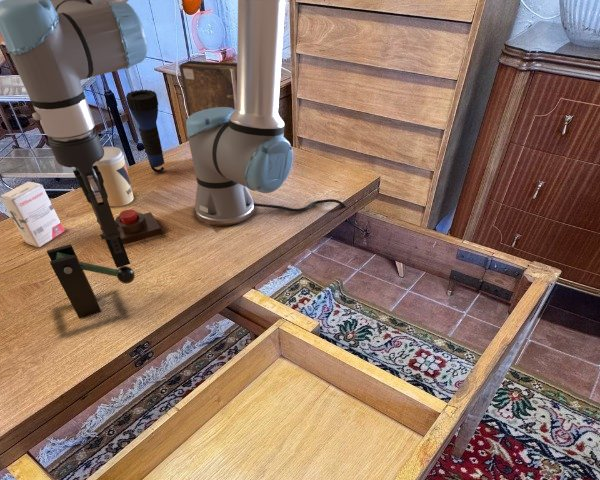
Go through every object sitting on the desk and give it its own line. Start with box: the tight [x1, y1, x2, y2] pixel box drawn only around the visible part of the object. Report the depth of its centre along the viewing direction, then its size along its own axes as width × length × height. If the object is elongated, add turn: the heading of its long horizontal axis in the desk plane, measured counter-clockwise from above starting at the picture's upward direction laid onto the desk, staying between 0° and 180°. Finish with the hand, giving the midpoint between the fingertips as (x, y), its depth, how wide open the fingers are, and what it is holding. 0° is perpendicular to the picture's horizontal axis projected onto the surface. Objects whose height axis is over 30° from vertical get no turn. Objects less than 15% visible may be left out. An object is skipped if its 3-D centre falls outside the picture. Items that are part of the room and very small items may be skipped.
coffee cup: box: [93, 146, 134, 207], centre depth 117 cm, size 9×9×12 cm
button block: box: [114, 211, 163, 246], centre depth 108 cm, size 12×9×4 cm
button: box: [118, 209, 138, 224], centre depth 106 cm, size 4×4×2 cm
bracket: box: [46, 243, 102, 319], centre depth 85 cm, size 12×9×14 cm
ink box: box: [0, 181, 65, 248], centre depth 105 cm, size 9×5×12 cm, turn 152°
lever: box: [56, 252, 136, 285], centre depth 85 cm, size 14×3×3 cm
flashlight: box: [125, 89, 165, 174], centre depth 124 cm, size 8×8×20 cm
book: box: [178, 60, 237, 117], centre depth 126 cm, size 17×7×25 cm, turn 65°
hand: (122, 263), depth 87 cm, fingers closed
